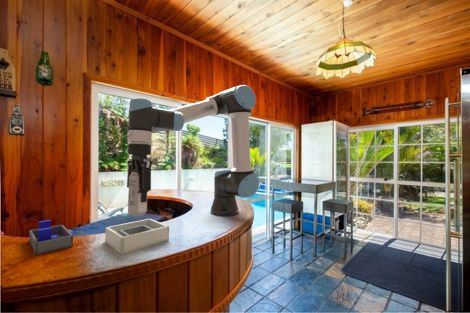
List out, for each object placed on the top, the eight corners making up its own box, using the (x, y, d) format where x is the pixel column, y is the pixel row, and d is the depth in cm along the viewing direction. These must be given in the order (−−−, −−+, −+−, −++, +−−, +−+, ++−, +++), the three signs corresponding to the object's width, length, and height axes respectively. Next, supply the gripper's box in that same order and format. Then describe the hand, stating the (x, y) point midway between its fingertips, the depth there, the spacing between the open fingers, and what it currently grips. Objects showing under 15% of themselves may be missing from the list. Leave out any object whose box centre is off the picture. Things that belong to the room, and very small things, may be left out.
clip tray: (62, 234, 82) (62, 224, 82) (72, 246, 71) (73, 235, 71) (29, 240, 75) (29, 230, 75) (35, 255, 64) (35, 243, 64)
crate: (149, 231, 87) (150, 218, 87) (168, 240, 78) (169, 226, 78) (105, 241, 75) (105, 227, 75) (121, 254, 66) (121, 237, 66)
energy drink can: (147, 215, 75) (149, 172, 76) (128, 217, 72) (129, 172, 73) (145, 211, 81) (146, 171, 81) (127, 213, 78) (128, 171, 78)
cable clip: (57, 246, 70) (57, 227, 70) (38, 250, 67) (38, 230, 67) (55, 236, 79) (55, 219, 79) (38, 238, 76) (39, 221, 76)
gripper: (118, 143, 80) (115, 206, 80) (141, 141, 68) (139, 217, 67) (138, 145, 86) (136, 204, 86) (163, 143, 73) (161, 213, 73)
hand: (137, 209), depth 77 cm, fingers closed on energy drink can, 6 cm apart
